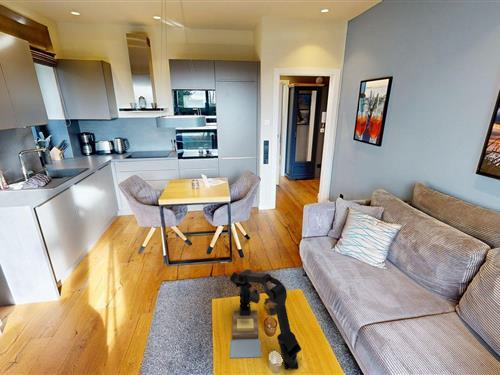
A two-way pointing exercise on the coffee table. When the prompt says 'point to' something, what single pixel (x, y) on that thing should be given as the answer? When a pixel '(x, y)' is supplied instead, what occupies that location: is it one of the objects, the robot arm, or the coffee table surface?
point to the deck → (245, 334)
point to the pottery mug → (270, 307)
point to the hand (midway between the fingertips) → (245, 312)
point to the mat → (245, 348)
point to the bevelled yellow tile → (245, 325)
